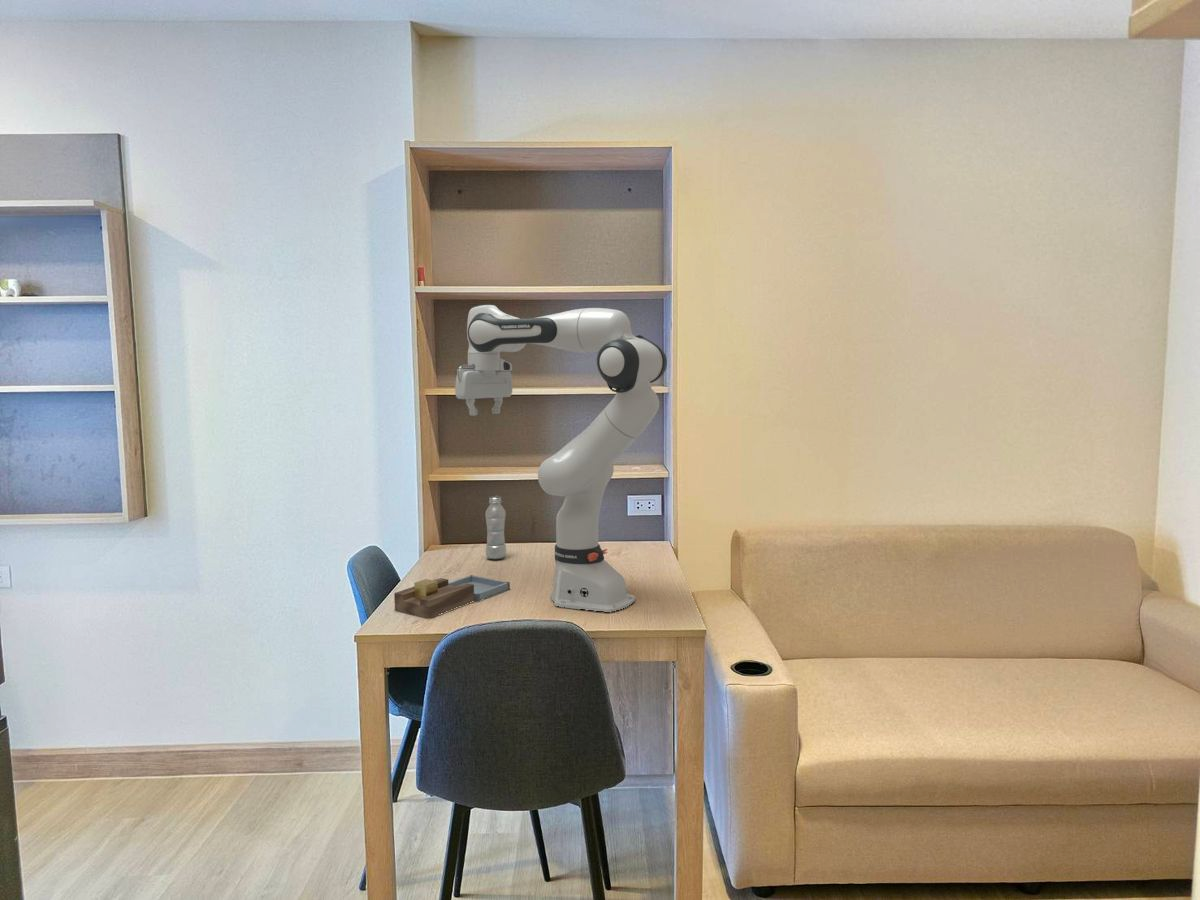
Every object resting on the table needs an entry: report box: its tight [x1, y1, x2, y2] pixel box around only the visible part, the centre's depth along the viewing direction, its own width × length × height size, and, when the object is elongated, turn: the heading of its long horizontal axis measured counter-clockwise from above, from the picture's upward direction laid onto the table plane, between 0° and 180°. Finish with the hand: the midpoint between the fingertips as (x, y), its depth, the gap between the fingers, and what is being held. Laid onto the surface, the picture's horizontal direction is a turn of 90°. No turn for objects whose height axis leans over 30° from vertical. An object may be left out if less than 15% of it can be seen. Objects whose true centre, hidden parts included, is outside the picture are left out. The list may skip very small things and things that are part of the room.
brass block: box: [413, 578, 438, 599], centre depth 186 cm, size 4×4×4 cm
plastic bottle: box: [484, 495, 507, 560], centre depth 236 cm, size 6×7×20 cm
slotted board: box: [393, 577, 475, 619], centre depth 189 cm, size 12×16×4 cm
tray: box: [448, 574, 511, 602], centre depth 202 cm, size 14×13×2 cm
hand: (485, 414), depth 207 cm, fingers open, 8 cm apart
